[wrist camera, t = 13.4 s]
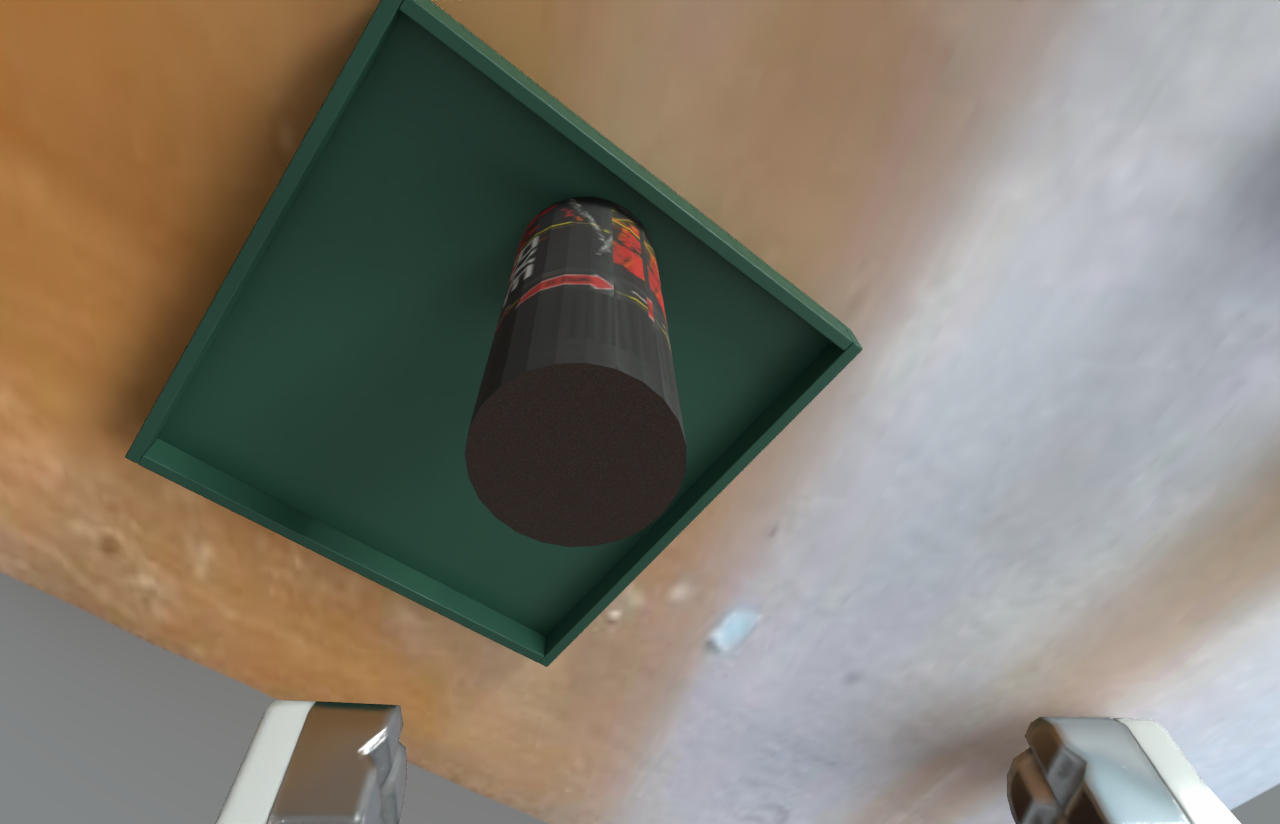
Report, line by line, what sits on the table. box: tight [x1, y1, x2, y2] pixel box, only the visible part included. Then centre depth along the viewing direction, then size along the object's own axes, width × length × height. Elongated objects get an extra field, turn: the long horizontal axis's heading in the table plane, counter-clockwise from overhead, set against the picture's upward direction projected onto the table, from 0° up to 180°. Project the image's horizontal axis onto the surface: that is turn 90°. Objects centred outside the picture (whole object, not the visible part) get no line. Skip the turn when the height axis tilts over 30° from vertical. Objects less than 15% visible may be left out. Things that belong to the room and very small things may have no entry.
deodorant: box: [465, 197, 687, 547], centre depth 28 cm, size 6×6×15 cm
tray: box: [125, 0, 862, 667], centre depth 37 cm, size 23×24×2 cm
